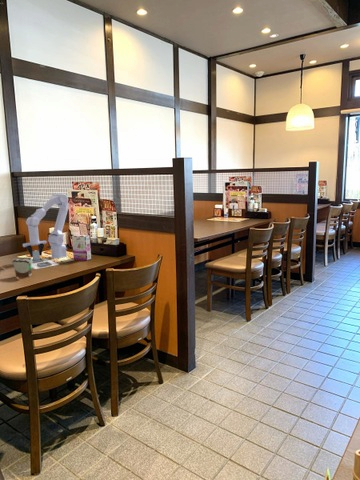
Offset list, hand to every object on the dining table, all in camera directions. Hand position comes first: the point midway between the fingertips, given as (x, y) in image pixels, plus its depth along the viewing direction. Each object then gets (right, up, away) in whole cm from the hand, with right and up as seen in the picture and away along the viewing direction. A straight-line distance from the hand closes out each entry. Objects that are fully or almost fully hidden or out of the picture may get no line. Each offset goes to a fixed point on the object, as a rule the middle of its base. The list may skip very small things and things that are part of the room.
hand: (36, 256), depth 229 cm
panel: (+5, -5, -4) cm, 8 cm away
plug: (0, -3, 0) cm, 3 cm away
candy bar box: (+29, -3, +5) cm, 30 cm away
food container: (+6, -10, -29) cm, 31 cm away
